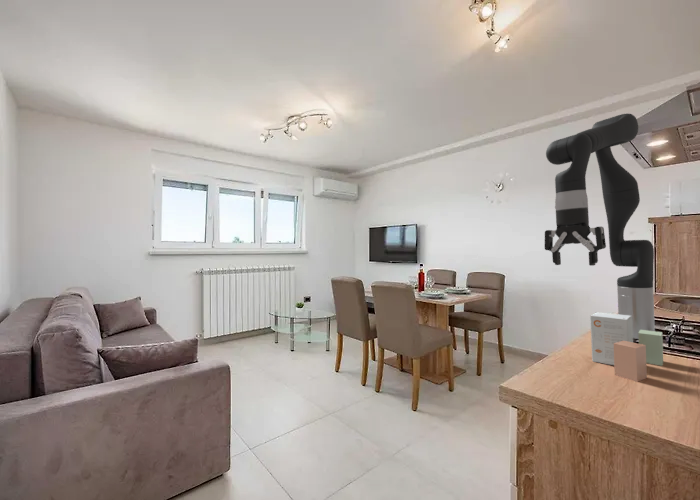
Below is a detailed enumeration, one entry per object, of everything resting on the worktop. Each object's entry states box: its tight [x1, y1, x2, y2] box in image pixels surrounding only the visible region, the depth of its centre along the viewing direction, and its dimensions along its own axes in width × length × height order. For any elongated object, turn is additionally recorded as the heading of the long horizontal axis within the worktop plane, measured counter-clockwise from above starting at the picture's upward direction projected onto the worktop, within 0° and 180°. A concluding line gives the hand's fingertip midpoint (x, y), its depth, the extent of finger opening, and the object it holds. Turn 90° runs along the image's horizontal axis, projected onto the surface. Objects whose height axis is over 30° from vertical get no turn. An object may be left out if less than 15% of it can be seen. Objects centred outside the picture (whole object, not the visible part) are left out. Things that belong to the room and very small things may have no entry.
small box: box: [589, 311, 634, 366], centre depth 87 cm, size 8×6×13 cm
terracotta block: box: [613, 341, 648, 383], centre depth 78 cm, size 4×4×8 cm
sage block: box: [638, 330, 664, 367], centre depth 86 cm, size 4×4×8 cm
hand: (574, 265), depth 89 cm, fingers open, 8 cm apart
